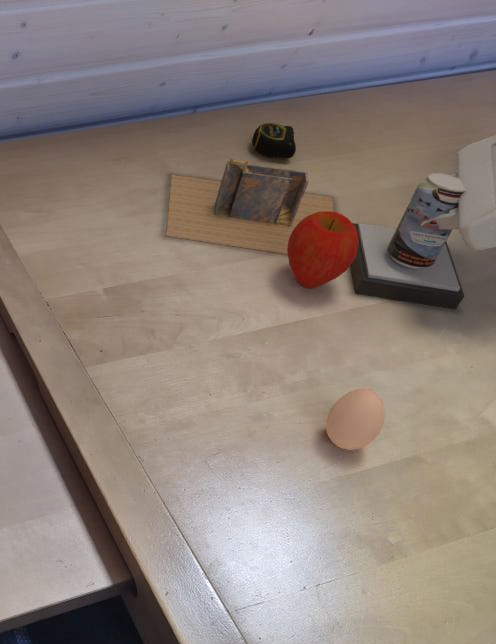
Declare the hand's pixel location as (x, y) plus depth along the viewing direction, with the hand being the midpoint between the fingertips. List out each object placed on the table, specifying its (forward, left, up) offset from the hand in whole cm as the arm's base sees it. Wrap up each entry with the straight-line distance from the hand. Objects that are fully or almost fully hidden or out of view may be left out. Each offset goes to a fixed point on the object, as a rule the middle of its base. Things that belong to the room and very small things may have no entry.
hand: (422, 212), depth 93 cm
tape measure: (+15, -28, -10) cm, 33 cm away
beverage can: (-1, +1, -7) cm, 7 cm away
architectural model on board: (+19, -8, -10) cm, 23 cm away
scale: (-1, 0, -10) cm, 10 cm away
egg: (+10, +33, -10) cm, 36 cm away
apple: (+12, +6, -10) cm, 17 cm away
